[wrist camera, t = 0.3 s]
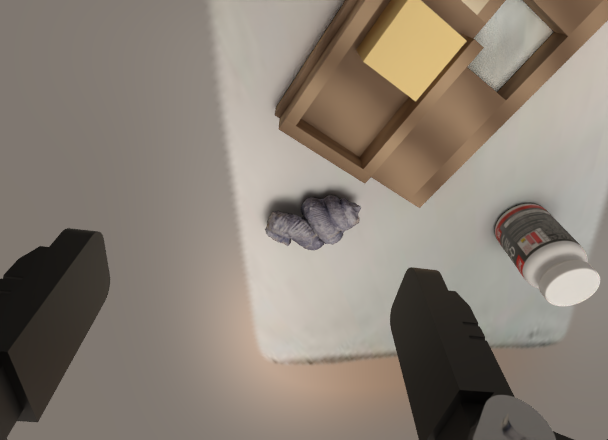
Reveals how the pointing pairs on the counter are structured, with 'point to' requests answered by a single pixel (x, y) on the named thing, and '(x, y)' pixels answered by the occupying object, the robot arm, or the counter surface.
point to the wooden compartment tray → (451, 105)
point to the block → (409, 46)
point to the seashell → (314, 222)
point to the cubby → (399, 122)
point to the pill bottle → (546, 255)
